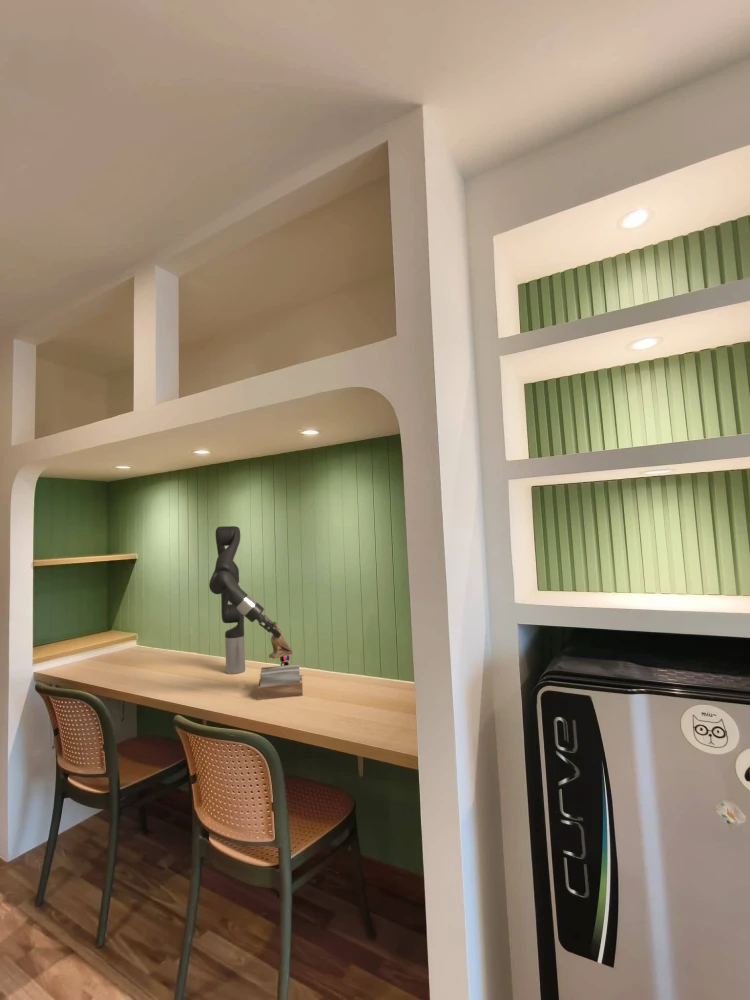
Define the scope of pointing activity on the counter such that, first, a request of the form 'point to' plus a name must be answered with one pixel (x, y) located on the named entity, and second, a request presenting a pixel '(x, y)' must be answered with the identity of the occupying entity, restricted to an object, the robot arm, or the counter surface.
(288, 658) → the statue
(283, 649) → the brown carved statuette
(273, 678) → the grey and brown block
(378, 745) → the counter surface
